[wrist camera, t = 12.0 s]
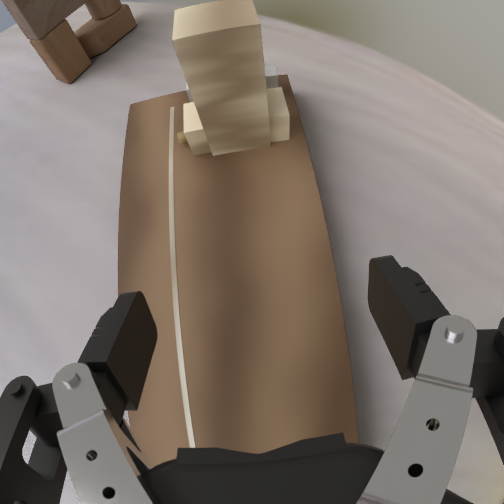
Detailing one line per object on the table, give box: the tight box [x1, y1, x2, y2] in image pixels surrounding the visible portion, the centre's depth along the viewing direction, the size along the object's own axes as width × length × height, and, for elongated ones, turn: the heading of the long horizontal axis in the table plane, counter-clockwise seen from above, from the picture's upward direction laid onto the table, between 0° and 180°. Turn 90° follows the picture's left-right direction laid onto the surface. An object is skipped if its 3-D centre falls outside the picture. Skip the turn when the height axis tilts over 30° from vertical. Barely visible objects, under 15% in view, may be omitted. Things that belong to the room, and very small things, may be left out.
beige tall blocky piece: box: [172, 0, 290, 156], centre depth 15 cm, size 7×3×9 cm, turn 97°
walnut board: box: [118, 64, 359, 466], centre depth 17 cm, size 12×26×4 cm, turn 7°
